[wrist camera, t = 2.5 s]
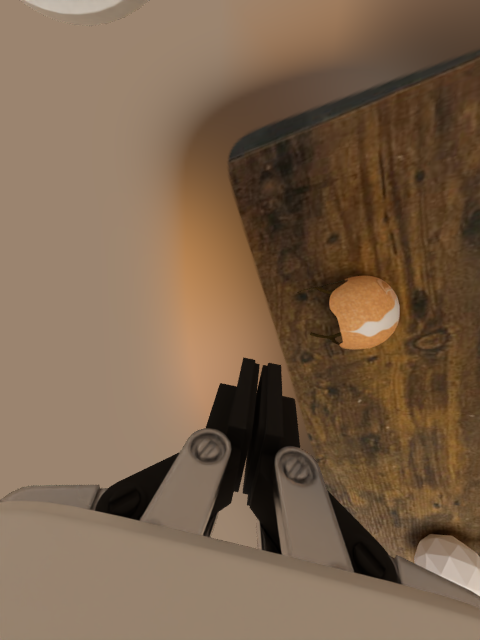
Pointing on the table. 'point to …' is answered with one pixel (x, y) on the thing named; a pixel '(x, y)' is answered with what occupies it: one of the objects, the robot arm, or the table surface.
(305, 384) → the table surface
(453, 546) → the perfume bottle
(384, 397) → the table surface
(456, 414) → the table surface
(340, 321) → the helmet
